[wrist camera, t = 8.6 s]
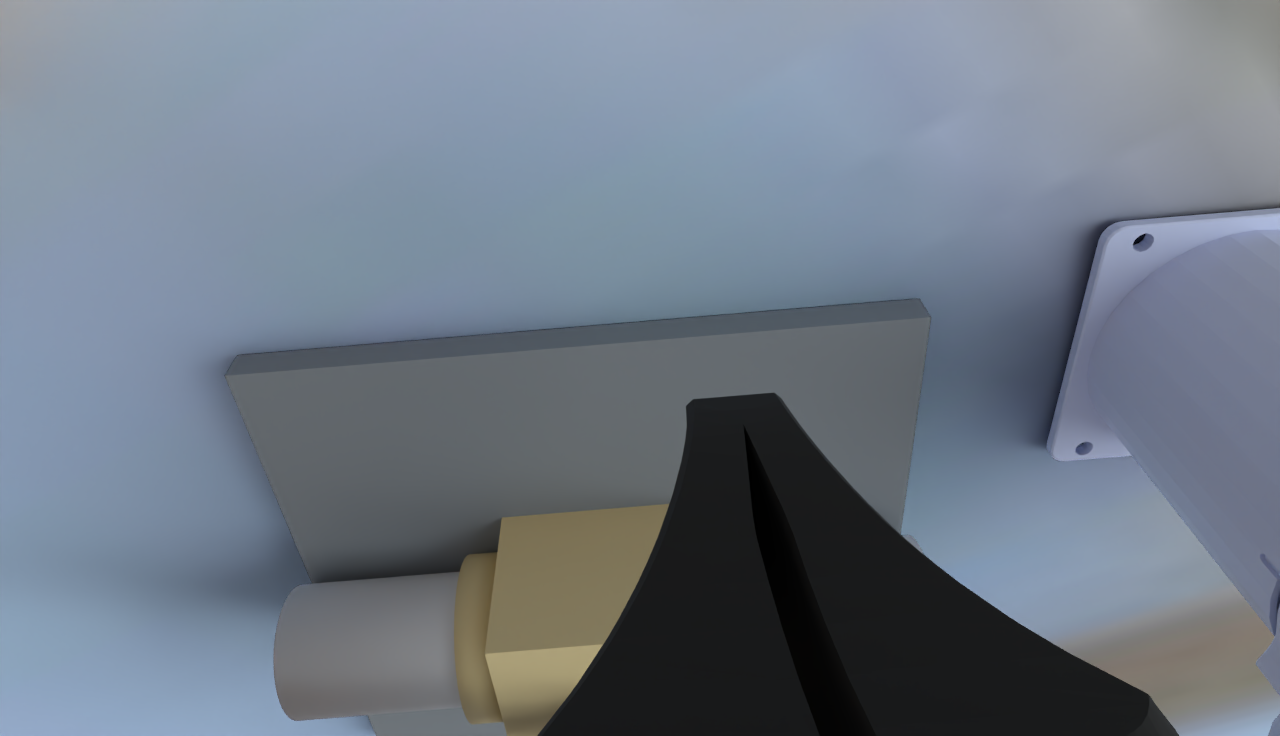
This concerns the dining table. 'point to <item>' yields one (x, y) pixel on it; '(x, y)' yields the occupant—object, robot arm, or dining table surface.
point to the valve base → (527, 491)
